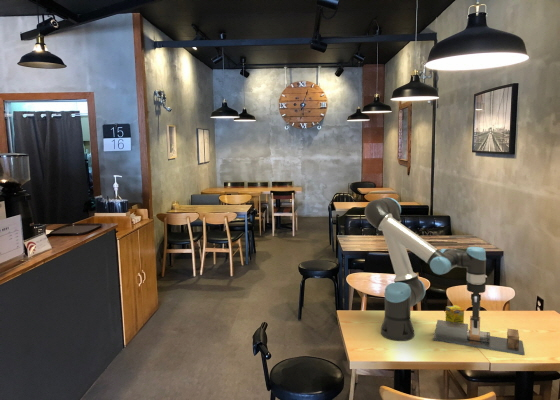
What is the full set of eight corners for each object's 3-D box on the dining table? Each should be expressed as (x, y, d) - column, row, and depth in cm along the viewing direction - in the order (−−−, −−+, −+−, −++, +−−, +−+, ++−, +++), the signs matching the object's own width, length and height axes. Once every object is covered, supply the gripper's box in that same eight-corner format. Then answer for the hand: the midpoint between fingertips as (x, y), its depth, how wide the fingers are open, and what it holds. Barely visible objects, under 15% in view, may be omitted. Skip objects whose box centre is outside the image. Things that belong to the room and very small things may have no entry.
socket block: (508, 347, 179) (508, 335, 179) (507, 340, 186) (507, 328, 186) (518, 349, 178) (519, 337, 177) (517, 341, 185) (517, 329, 184)
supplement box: (453, 333, 198) (453, 310, 197) (445, 328, 204) (445, 306, 202) (463, 331, 200) (464, 309, 198) (455, 326, 205) (455, 304, 204)
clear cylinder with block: (440, 335, 193) (441, 315, 192) (441, 331, 196) (442, 311, 195) (489, 342, 184) (490, 321, 183) (489, 338, 188) (490, 318, 187)
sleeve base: (433, 340, 191) (433, 326, 190) (435, 330, 201) (436, 317, 201) (524, 355, 175) (525, 340, 174) (522, 343, 186) (522, 329, 185)
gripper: (485, 291, 173) (485, 341, 175) (485, 275, 195) (485, 319, 197) (465, 289, 176) (465, 338, 178) (467, 273, 198) (467, 317, 200)
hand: (475, 328), depth 188 cm, fingers open, 13 cm apart
